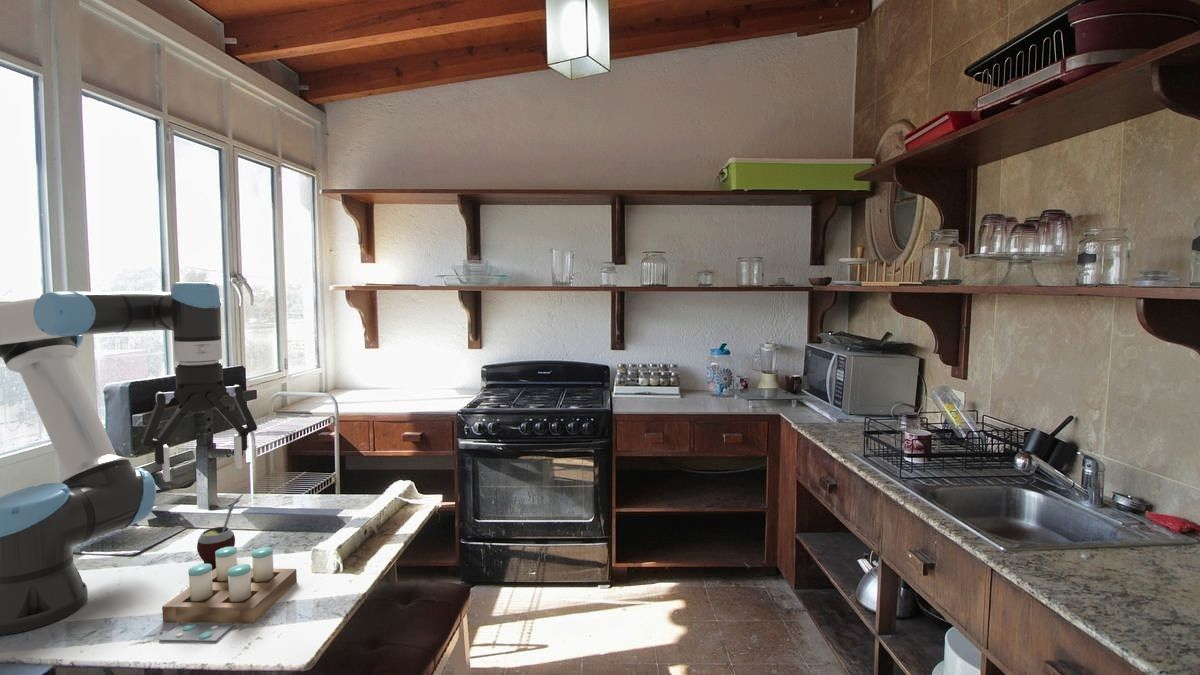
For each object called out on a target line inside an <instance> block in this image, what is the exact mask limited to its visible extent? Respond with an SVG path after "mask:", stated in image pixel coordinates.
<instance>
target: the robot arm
mask: <svg viewBox="0 0 1200 675" xmlns="http://www.w3.org/2000/svg"><path fill="white" fill-rule="evenodd" d="M219 290H220V289H219V286H218V285H217V284H216V283H214V282H199V281H198V282H195V281H194V282H192V281H190V282H189V281H176V282H173V283H172V284H171V291H170V292H169V291H155V290H150V291H149V290H143V291H142V290H141V291H76V290H62V291H48V292H45V293H43V294H41V295H40V296H39V297H37V298H28V299H22V300H16V301H0V358H1V359H2V360H3V362H4V364H5V366H6V368H7V370H9V371H11V372H15V373H18V374H20V376H21V378H22V381H23V382H24V384H25V386H26V388H27V391H28V393H29V395H30V398H31V400H32V402H33V404H34V407H35V409H36V411H37V413H38V415H39V416H38V417H39V418H40V420H41V422H42V424H43V426H44V429H45V431H46V433H47V435H48V438H49V440H50V442H51V445H52V446H53V449H54V452H55V453H56V455H57V458H58V460H59V462H60V464H61V466H62V469H63V471H64V473H65V474H64V475H63V477H62V479H61V480H60V482H50V483H49V482H48V483H42V484H40V485H37V486H35V485H32V486H31V485H30V486H28V487H25V488H24V487H23V488H21V489H18V490H15V491H12V492H10V493H7V494H5V495H2V496H0V636H5V635H11V634H17V633H22V632H26V631H31V630H34V629H37V628H41V627H44V626H47V625H50V624H52V623H56V622H58V621H60V620H61V619H64V618H66V617H68V616H70V615H72V614H74V613H76V612H77V611H78V610H80V609H82V607H83V606H85V605H86V603H87V602H88V599H89V594H88V586H87V584H86V583H85V582H84V581H83V579H82V577H81V574H80V572H79V570H78V568H77V567H76V565H75V563H74V551H73V550H74V548H73V547H76V546H77V545H80V544H83V543H85V542H88V541H91V540H94V539H97V538H99V537H102V536H103V537H104V536H105V535H108V534H111V533H113V532H115V531H119V530H125V529H127V528H128V527H130V526H133V525H135V524H137V523H140V522H141V521H144V520H145V519H146V518H147V517H149V515H150V514H151V512H152V510H153V509H154V507H155V502H156V498H157V487H156V482H155V479H154V477H153V475H152V474H151V473H150V472H149V471H148V470H146V469H145V468H142V467H133V466H132V464H131V462H130V460H129V458H127V457H124V456H120V455H117V453H116V451H115V449H114V447H113V444H112V442H111V440H110V437H109V436H108V433H107V431H106V428H105V426H104V425H103V423H102V420H101V418H100V416H99V414H98V412H97V409H96V406H95V405H94V402H93V401H92V399H91V397H90V395H89V392H88V390H87V388H86V385H85V384H84V381H83V379H82V377H81V375H80V372H79V370H78V369H77V366H76V363H75V362H74V359H75V357H76V356H77V355H78V353H79V349H78V348H79V347H80V346H81V345H82V342H83V339H84V335H95V334H97V335H98V334H110V333H111V334H112V333H116V334H117V333H129V332H131V333H132V332H147V331H148V332H150V331H173V344H174V346H173V347H174V348H173V349H174V350H173V351H174V361H175V362H177V364H175V366H174V371H175V388H174V390H173V391H167V392H162V391H157V392H155V394H154V398H155V405H154V408H153V409H152V412H151V414H150V418H149V420H148V422H147V425H146V428H145V431H144V432H143V435H142V437H141V444H142V445H143V446H144V447H152V448H153V450H154V462H155V463H156V465H161V467H162V479H163V481H164V482H165V483H167V482H168V483H169V482H171V466H170V447H169V446H168V445H167V441H168V440H169V438H170V437H171V435H172V434H173V433H174V432H175V430H176V428H178V426H179V424H180V423H181V422H182V420H183V419H184V417H186V416H187V415H188V413H189V411H190V412H198V411H201V410H205V411H209V410H213V409H214V408H215V409H216V410H217V411H218V412H219V413H220V414H221V416H223V418H224V419H225V420H226V421H227V422H228V423H229V424H230V426H232V428H233V429H234V430H235V431H236V432H237V434H233V451H234V452H233V454H234V457H233V458H234V467H235V468H236V469H237V470H238V469H239V470H241V469H243V451H244V452H245V451H247V450H248V435H249V433H252V432H256V431H257V430H258V425H257V423H256V422H255V419H254V418H253V415H252V413H251V411H250V409H249V407H248V405H247V403H246V401H245V399H244V392H243V387H242V386H241V385H239V384H234V385H233V386H225V384H224V372H223V371H224V370H223V369H224V368H223V363H222V362H221V360H222V359H223V347H222V318H221V316H222V315H221V314H222V313H221V310H222V309H221V306H222V303H221V299H220V297H221V296H220V291H219ZM227 393H228V394H229V397H231V398H233V400H234V401H235V402H234V403H235V405H236V407H237V408H238V411H239V413H240V414H241V417H242V418H243V421H244V423H245V426H243V424H242V423H241V422H240V421H239V420H238V419H237V418H236V417H235V416H234V414H232V413H231V412H230V411H229V409H228V408H227V407H226V406H225V404H224V403H222V402H221V400H222V399H223V397H225V395H226V394H227ZM173 398H174V399H175V400H176V401H177V402H179V405H178V406H177V407H176V409H175V411H174V412H173V414H172V416H171V417H169V419H168V421H166V424H165V425H164V426H163V428H162V429H161V431H160V432H159V433H158V435H157V436H156V438H154V437H155V435H156V432H157V430H158V427H159V424H160V423H161V420H162V417H163V414H164V412H165V409H166V406H167V405H168V404H169V403H170V402H171V400H172V399H173Z"/></svg>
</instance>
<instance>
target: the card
mask: <svg viewBox="0 0 1200 675" xmlns="http://www.w3.org/2000/svg"><path fill="white" fill-rule="evenodd" d="M234 627H235V623H194V622H179V623H178V624H177V625H176V626H175V627H174V628H172V629H171V630H169V631H168V632H167V633H166V634H164V636H162V637H161V638H159V640H158V642H159V643H203V644H204V643H213V644H214V643H215V644H216V643H217V642H219V640H221V639H222V638H223V637H224V636H225V635H226V634H228V632H230V630H232V628H234Z"/></svg>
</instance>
